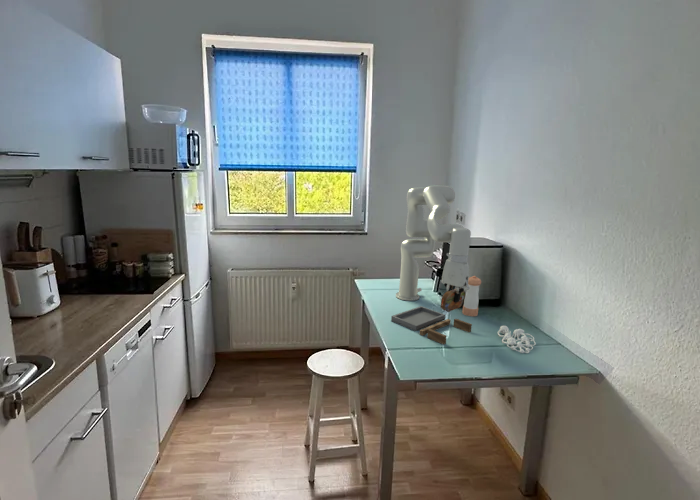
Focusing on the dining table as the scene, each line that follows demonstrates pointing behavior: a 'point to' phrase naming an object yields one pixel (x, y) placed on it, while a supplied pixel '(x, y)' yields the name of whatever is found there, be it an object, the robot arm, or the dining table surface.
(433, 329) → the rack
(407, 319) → the tray
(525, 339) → the tangled rod sculpture
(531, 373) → the dining table surface
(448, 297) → the tin
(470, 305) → the pepper shaker
